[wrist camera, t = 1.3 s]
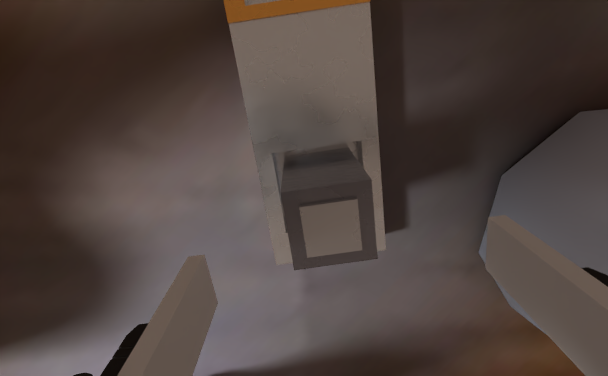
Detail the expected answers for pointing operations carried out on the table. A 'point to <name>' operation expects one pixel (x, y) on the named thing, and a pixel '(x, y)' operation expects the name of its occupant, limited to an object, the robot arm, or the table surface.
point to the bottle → (562, 194)
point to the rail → (306, 91)
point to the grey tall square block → (328, 209)
